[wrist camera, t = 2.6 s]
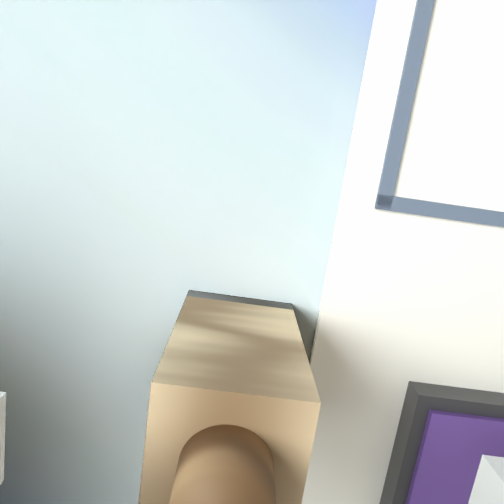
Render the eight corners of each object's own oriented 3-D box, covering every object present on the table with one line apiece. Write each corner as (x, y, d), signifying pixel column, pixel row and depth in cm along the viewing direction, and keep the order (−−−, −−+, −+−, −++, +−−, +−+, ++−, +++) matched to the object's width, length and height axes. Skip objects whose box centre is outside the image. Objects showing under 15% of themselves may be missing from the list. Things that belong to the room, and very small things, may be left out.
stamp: (177, 383, 21) (116, 594, 11) (189, 290, 20) (132, 427, 10) (275, 396, 21) (302, 613, 11) (291, 303, 20) (335, 452, 10)
